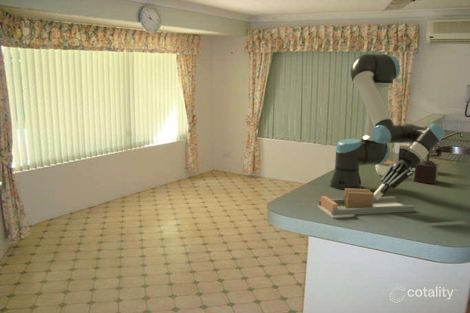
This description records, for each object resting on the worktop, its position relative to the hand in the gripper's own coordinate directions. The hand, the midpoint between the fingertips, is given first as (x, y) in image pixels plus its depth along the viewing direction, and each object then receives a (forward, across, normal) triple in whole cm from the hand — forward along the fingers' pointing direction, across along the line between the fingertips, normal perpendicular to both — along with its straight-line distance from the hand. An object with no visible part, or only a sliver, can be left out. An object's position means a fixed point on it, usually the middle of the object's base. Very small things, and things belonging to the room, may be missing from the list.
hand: (374, 197), depth 169 cm
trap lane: (+6, +2, -2) cm, 7 cm away
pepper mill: (-36, +42, -47) cm, 72 cm away
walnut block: (+7, +3, +1) cm, 8 cm away
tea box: (-42, +67, -54) cm, 96 cm away
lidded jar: (-25, +56, -34) cm, 70 cm away
